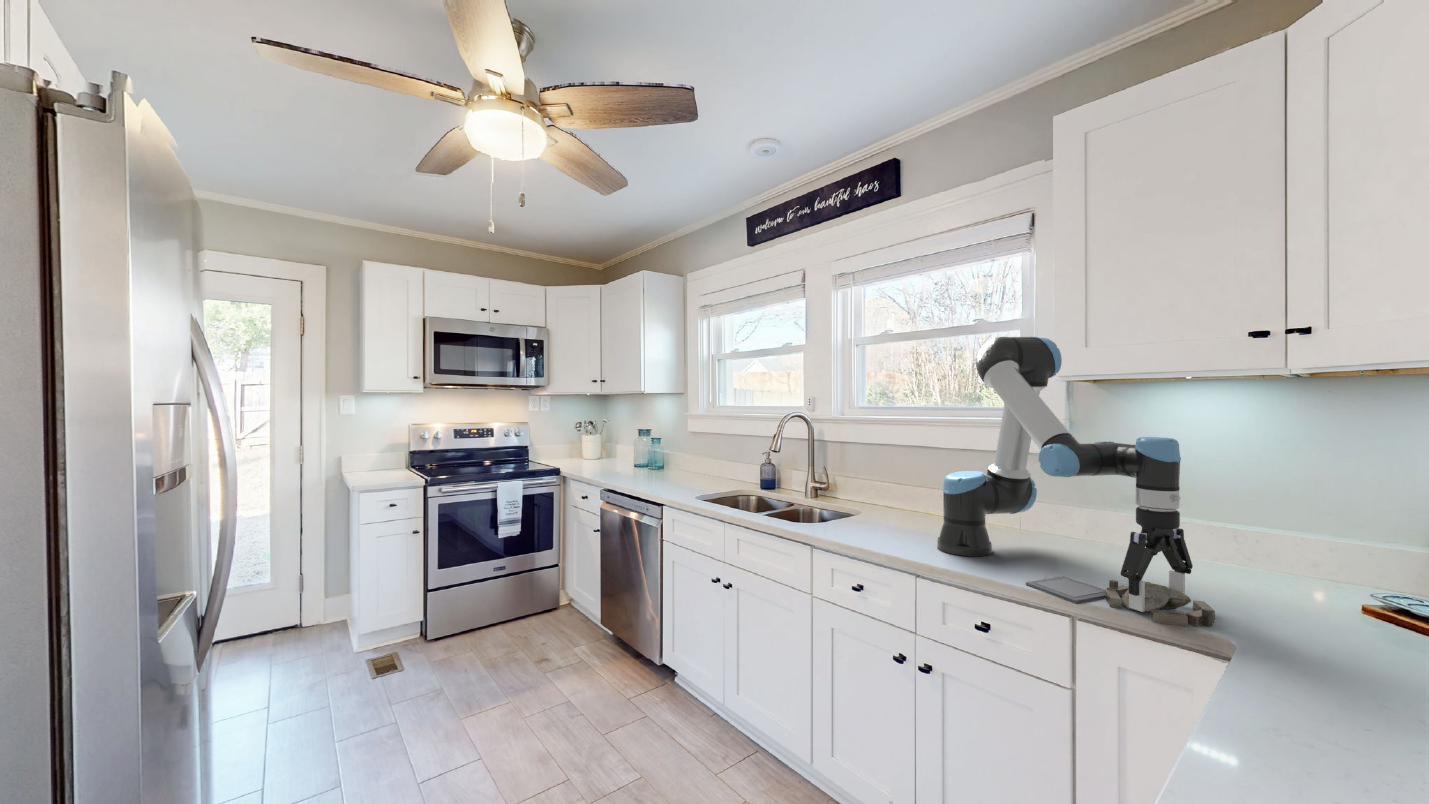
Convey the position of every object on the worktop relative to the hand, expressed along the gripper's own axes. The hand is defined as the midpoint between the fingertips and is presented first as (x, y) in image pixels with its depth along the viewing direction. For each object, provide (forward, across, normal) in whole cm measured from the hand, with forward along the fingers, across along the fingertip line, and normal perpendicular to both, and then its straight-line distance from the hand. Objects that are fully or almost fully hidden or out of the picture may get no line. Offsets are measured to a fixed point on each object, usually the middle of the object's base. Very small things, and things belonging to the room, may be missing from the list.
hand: (1157, 605), depth 121 cm
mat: (+1, -7, +15) cm, 17 cm away
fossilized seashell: (+1, -1, 0) cm, 1 cm away
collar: (+1, 0, 0) cm, 1 cm away
